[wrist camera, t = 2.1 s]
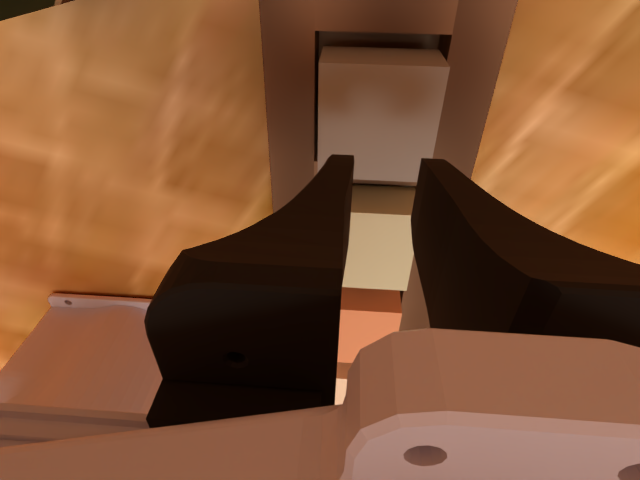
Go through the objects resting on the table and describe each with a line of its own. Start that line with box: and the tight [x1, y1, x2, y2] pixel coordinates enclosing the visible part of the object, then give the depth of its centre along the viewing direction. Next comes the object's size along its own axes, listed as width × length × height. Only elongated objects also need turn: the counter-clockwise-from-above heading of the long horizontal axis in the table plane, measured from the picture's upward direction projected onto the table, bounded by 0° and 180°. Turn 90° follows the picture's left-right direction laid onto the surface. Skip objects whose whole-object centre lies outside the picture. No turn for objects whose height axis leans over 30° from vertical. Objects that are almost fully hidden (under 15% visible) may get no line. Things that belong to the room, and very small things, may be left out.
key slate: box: [318, 46, 450, 182], centre depth 16 cm, size 4×4×2 cm
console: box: [259, 0, 518, 331], centre depth 24 cm, size 9×26×3 cm, turn 179°
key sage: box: [342, 184, 416, 291], centre depth 20 cm, size 4×4×2 cm
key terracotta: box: [337, 287, 402, 363], centre depth 24 cm, size 4×4×2 cm
